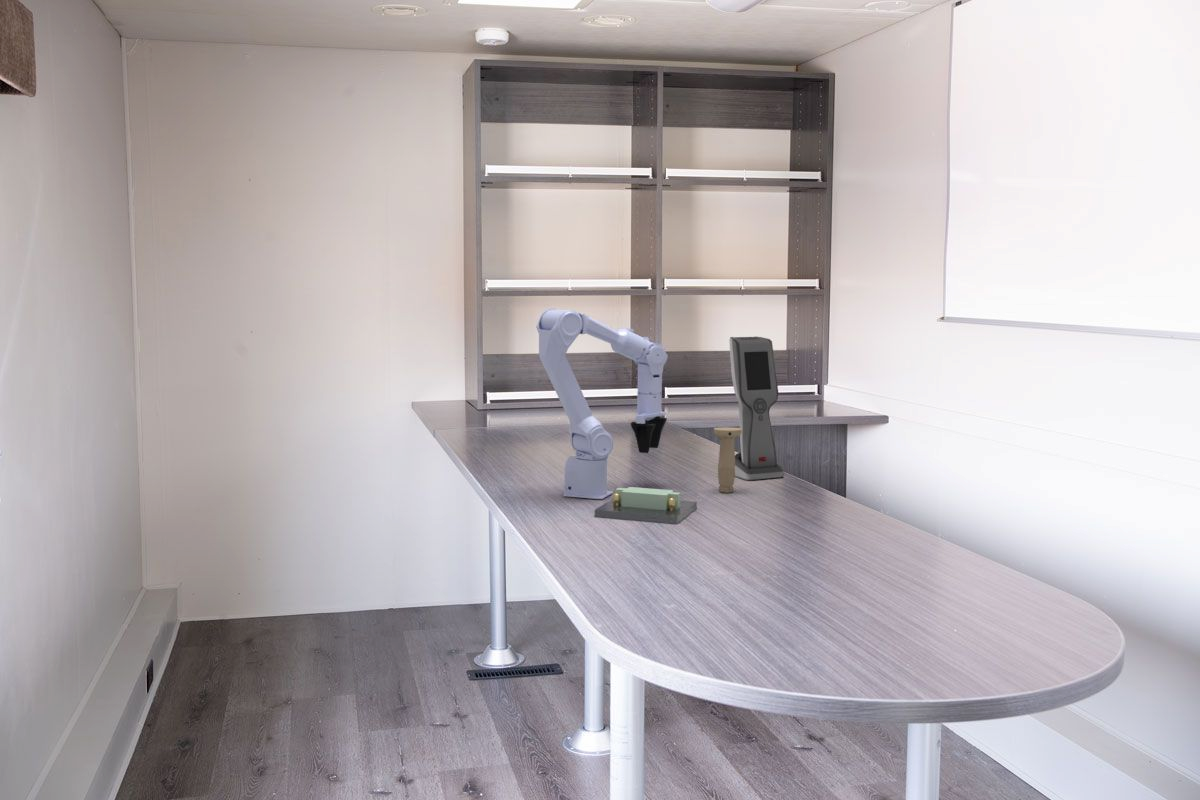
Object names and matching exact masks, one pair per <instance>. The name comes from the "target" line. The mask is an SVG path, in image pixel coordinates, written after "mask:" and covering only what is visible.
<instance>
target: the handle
mask: <svg viewBox="0 0 1200 800" xmlns="http://www.w3.org/2000/svg"><path fill="white" fill-rule="evenodd" d="M713 434H714V435H715V436H716V437H718V438H719V451H718V452H719V455H718V465H717V467H718V468H717V475H718V476H717V479H718V485H719V486H718V490H719V492H720V493H726V494H729V493H732V492H734V483H735V478H736V477H735V455H736V454H735V448H736V447H735V440H736V438H738V437H740V435H741V429H740V427H729V426H728V427H724V426H723V427H714V428H713Z"/></svg>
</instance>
